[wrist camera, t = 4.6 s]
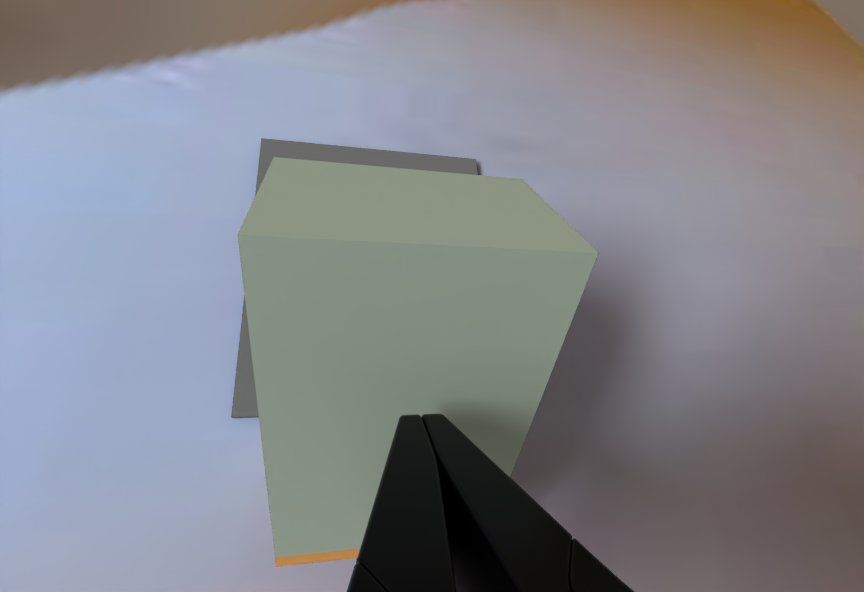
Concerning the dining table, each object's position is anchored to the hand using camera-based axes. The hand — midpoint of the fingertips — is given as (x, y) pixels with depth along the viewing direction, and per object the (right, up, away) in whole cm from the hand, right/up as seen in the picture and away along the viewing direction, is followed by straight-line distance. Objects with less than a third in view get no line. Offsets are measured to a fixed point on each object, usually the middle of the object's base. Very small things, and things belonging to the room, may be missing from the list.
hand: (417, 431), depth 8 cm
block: (-1, -4, +6) cm, 7 cm away
